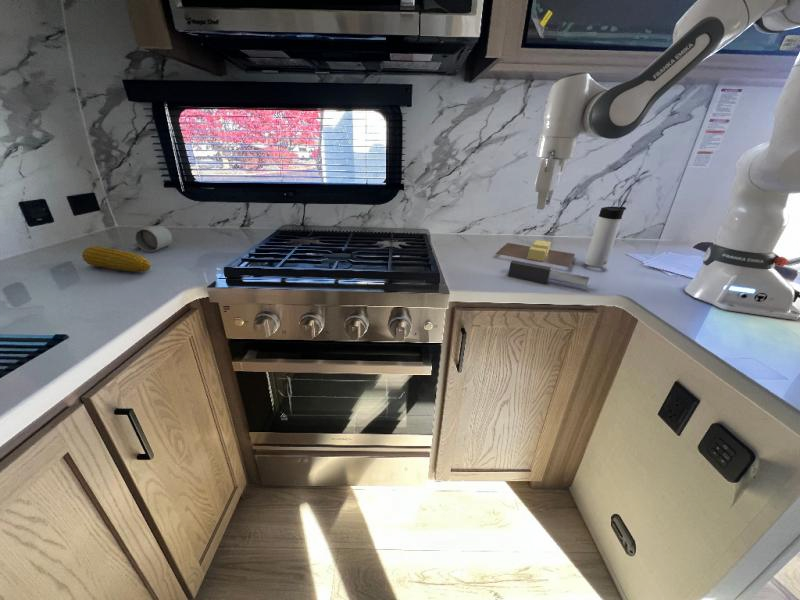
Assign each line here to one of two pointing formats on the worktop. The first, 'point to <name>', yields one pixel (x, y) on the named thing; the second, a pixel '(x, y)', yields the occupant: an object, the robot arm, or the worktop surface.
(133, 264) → the food
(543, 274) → the knife
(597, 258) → the travel mug
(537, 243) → the butter block
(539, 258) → the butter slice
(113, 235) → the worktop surface
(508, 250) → the cutting board
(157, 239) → the ceramic mug
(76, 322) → the worktop surface
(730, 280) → the robot arm
